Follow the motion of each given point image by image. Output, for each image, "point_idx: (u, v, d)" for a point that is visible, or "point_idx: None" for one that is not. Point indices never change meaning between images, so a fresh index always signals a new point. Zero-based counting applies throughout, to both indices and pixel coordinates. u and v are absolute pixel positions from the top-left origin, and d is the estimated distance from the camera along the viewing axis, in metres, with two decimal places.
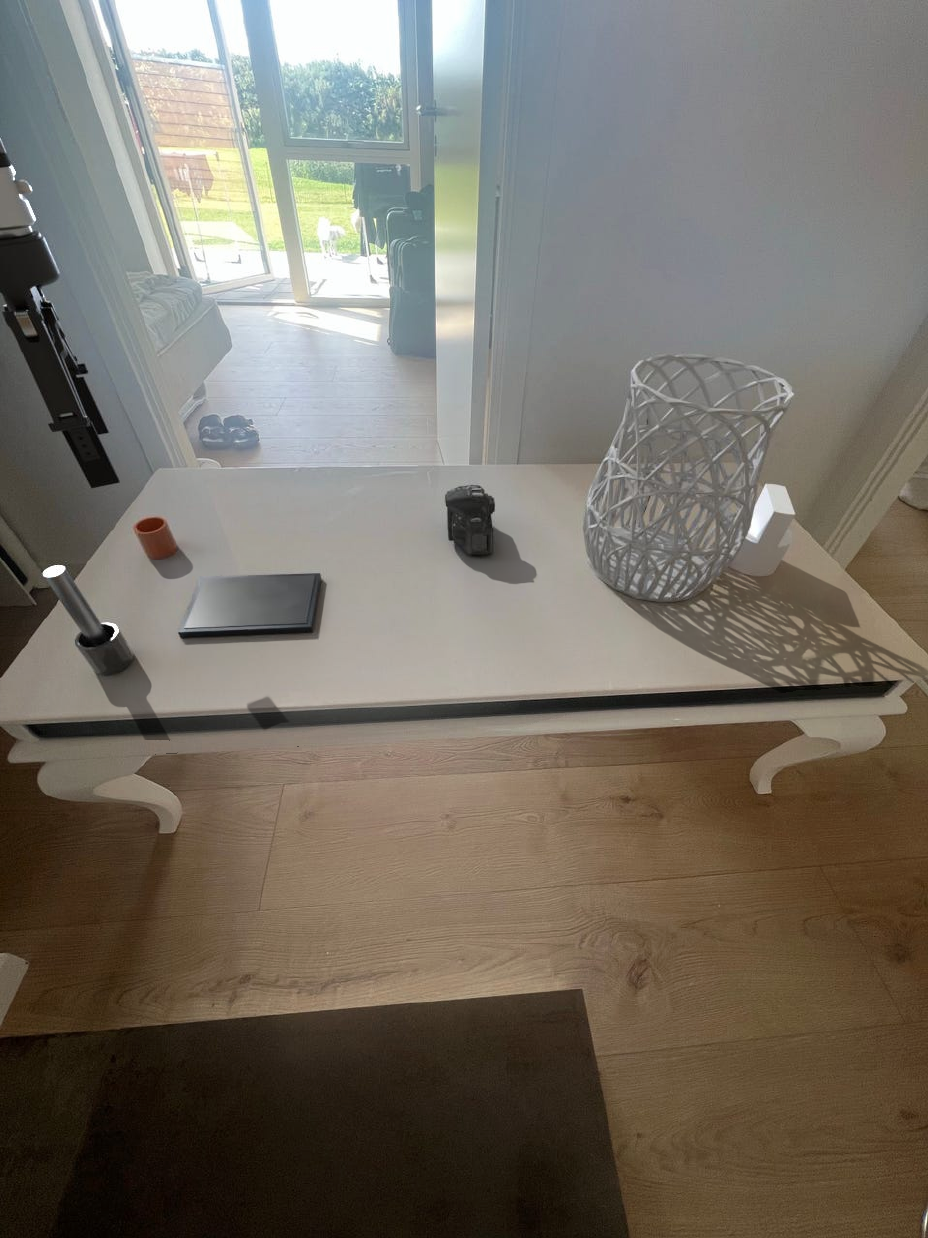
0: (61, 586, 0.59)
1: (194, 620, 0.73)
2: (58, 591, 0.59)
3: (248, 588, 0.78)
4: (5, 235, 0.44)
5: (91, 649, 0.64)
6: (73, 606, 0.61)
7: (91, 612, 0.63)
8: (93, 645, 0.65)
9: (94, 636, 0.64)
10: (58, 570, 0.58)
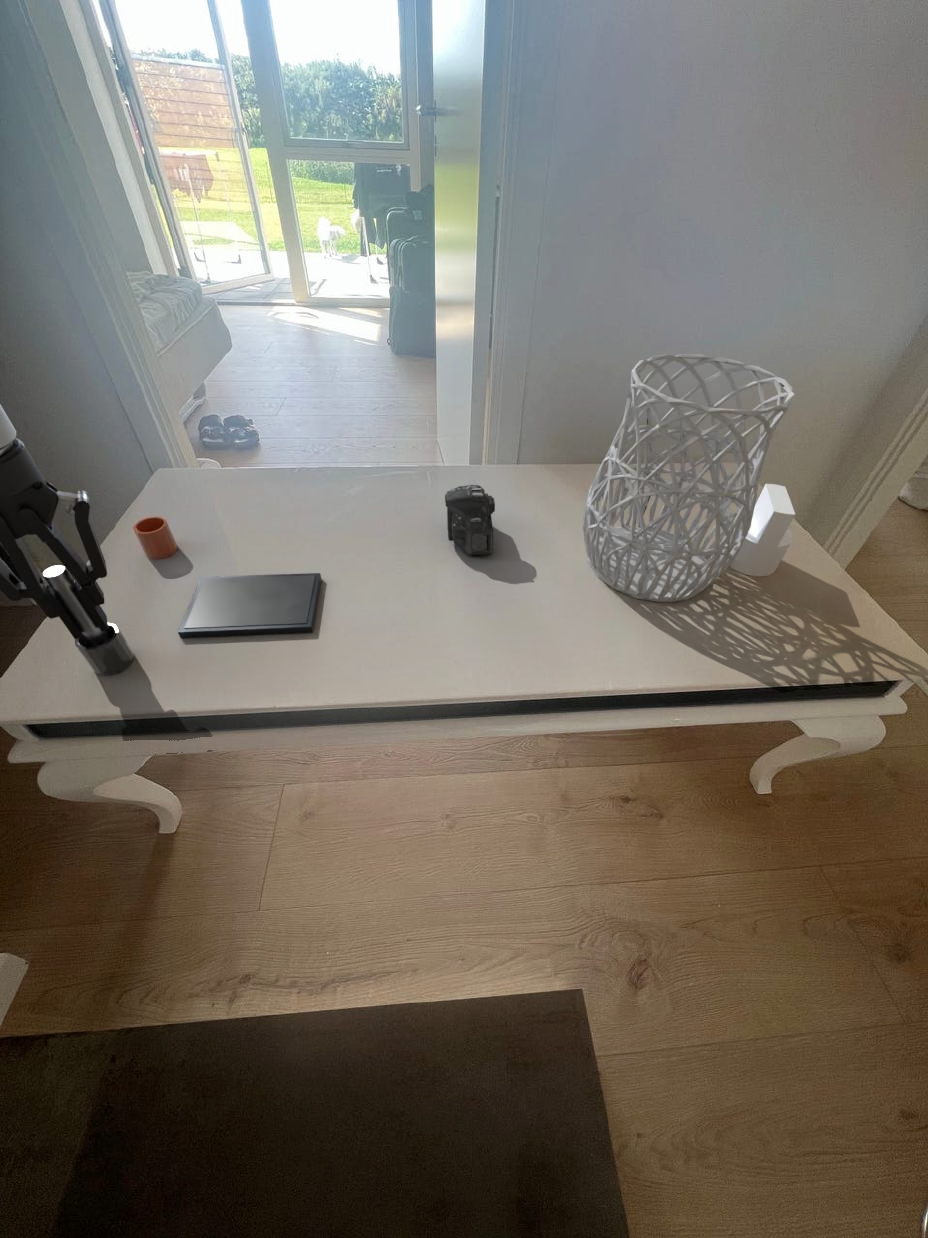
0: (61, 586, 0.59)
1: (194, 620, 0.73)
2: (58, 591, 0.59)
3: (248, 588, 0.78)
4: None
5: (91, 649, 0.64)
6: (73, 606, 0.61)
7: None
8: (93, 645, 0.65)
9: (94, 636, 0.64)
10: (58, 570, 0.58)
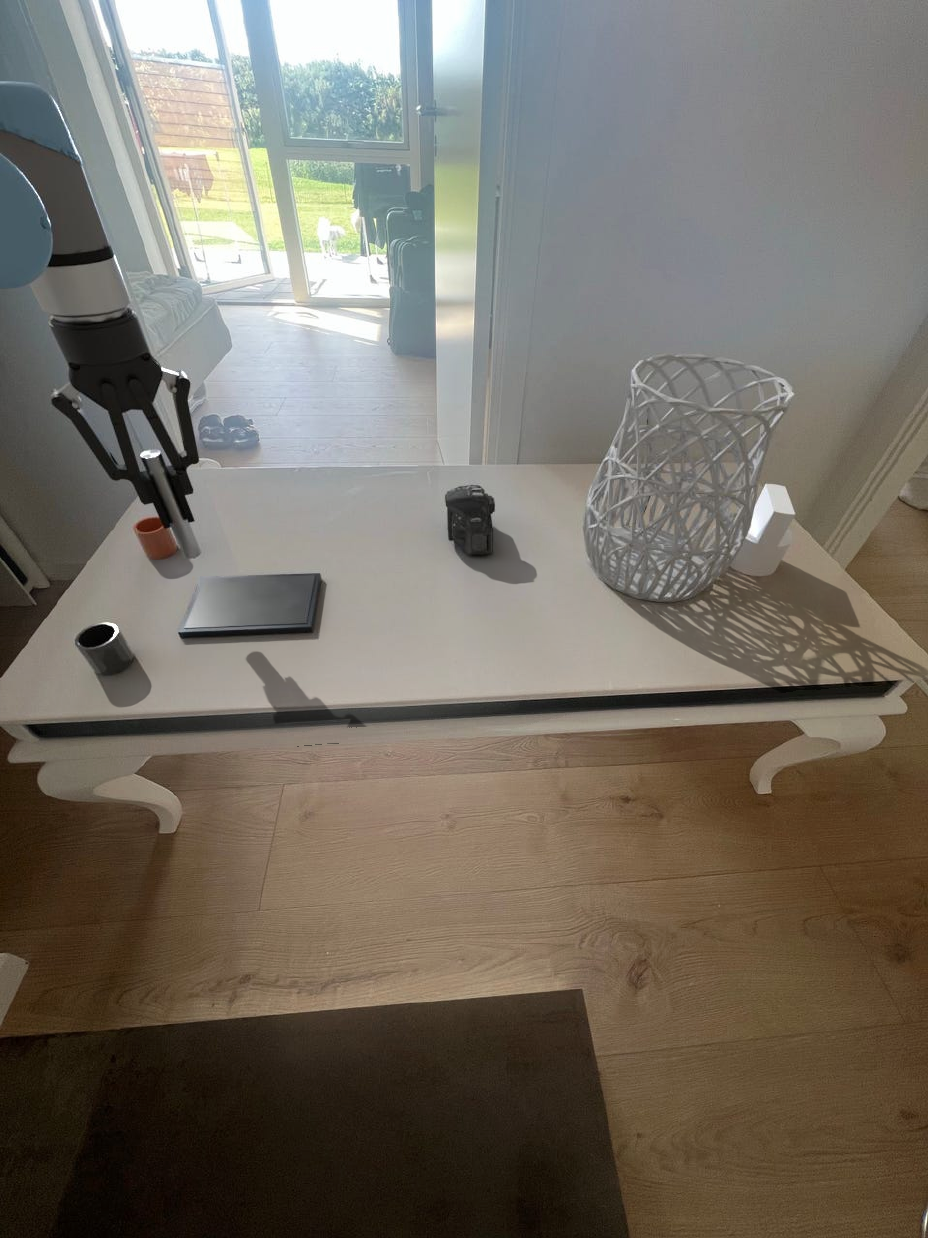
0: (157, 469, 0.60)
1: (194, 620, 0.73)
2: (153, 474, 0.61)
3: (248, 588, 0.78)
4: None
5: (91, 649, 0.64)
6: (165, 492, 0.63)
7: None
8: (179, 538, 0.67)
9: (181, 528, 0.66)
10: (155, 453, 0.60)
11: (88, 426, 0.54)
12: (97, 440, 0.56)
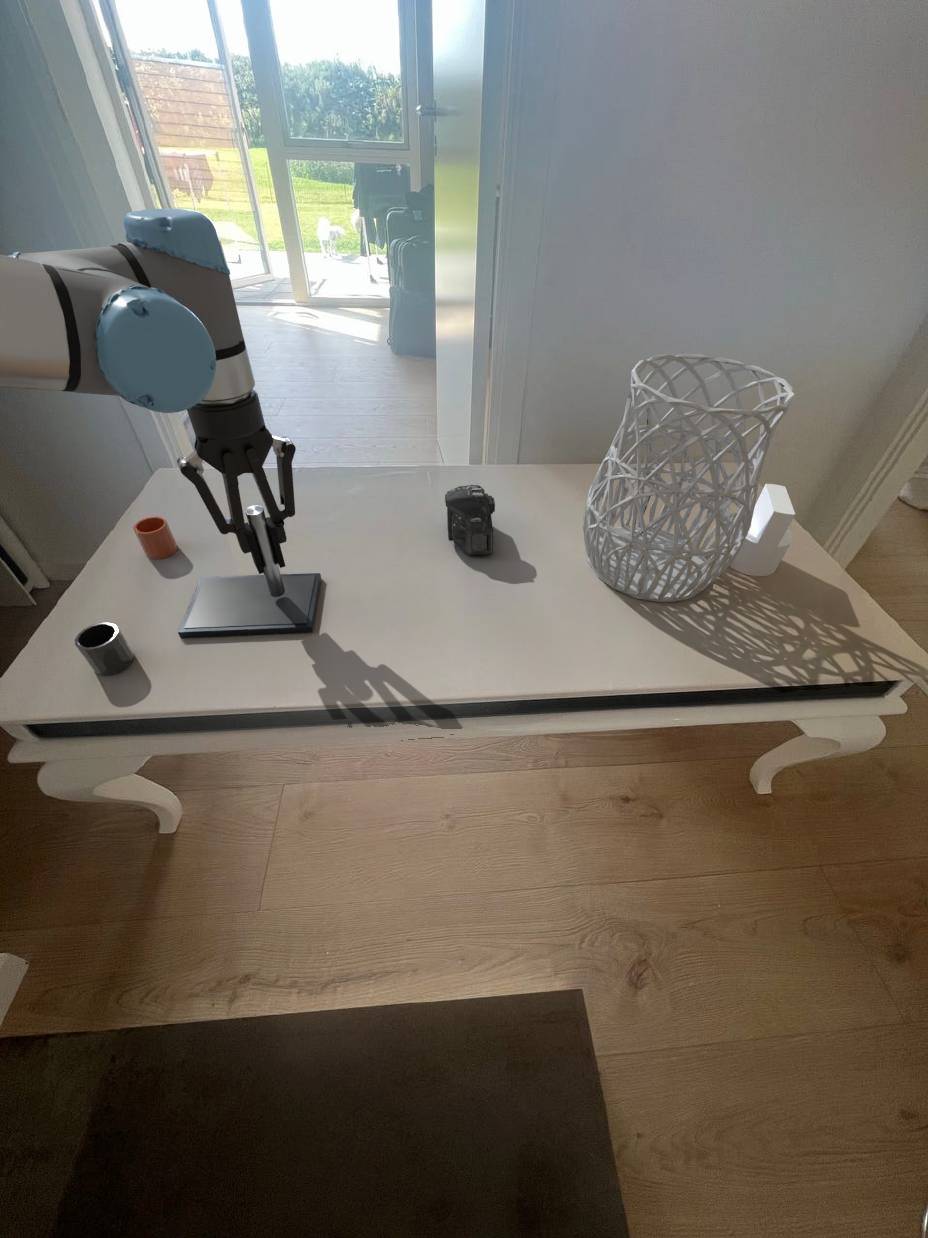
0: (262, 522, 0.67)
1: (194, 620, 0.73)
2: (259, 528, 0.67)
3: (248, 588, 0.78)
4: None
5: (91, 649, 0.64)
6: (266, 542, 0.69)
7: None
8: (272, 580, 0.73)
9: (275, 570, 0.73)
10: (258, 509, 0.66)
11: (207, 489, 0.61)
12: (213, 500, 0.62)
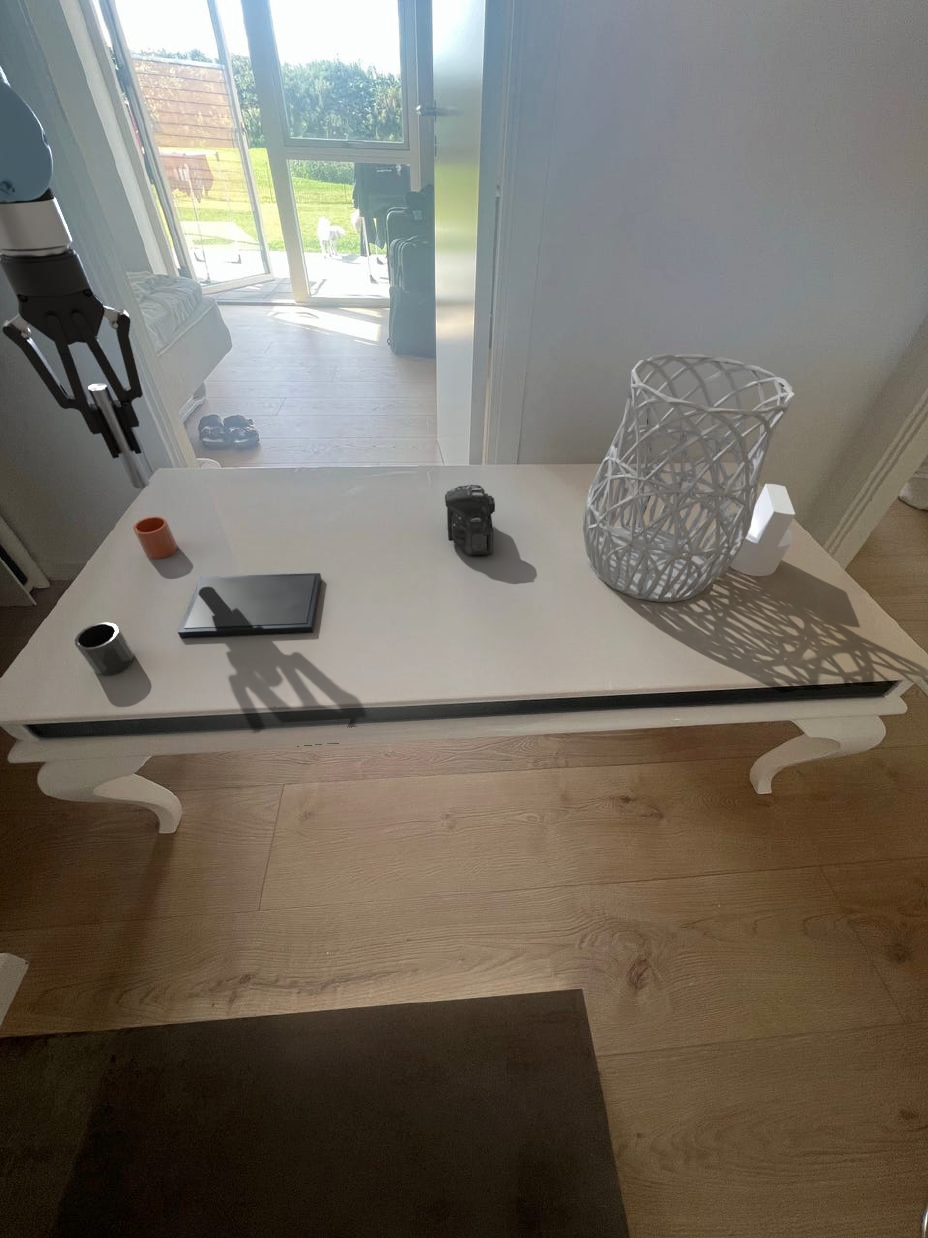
0: (107, 400, 0.68)
1: (194, 620, 0.73)
2: (104, 406, 0.68)
3: (248, 588, 0.78)
4: None
5: (91, 649, 0.64)
6: (116, 423, 0.70)
7: None
8: (131, 468, 0.74)
9: (132, 457, 0.73)
10: (101, 386, 0.67)
11: (37, 355, 0.61)
12: (46, 369, 0.63)
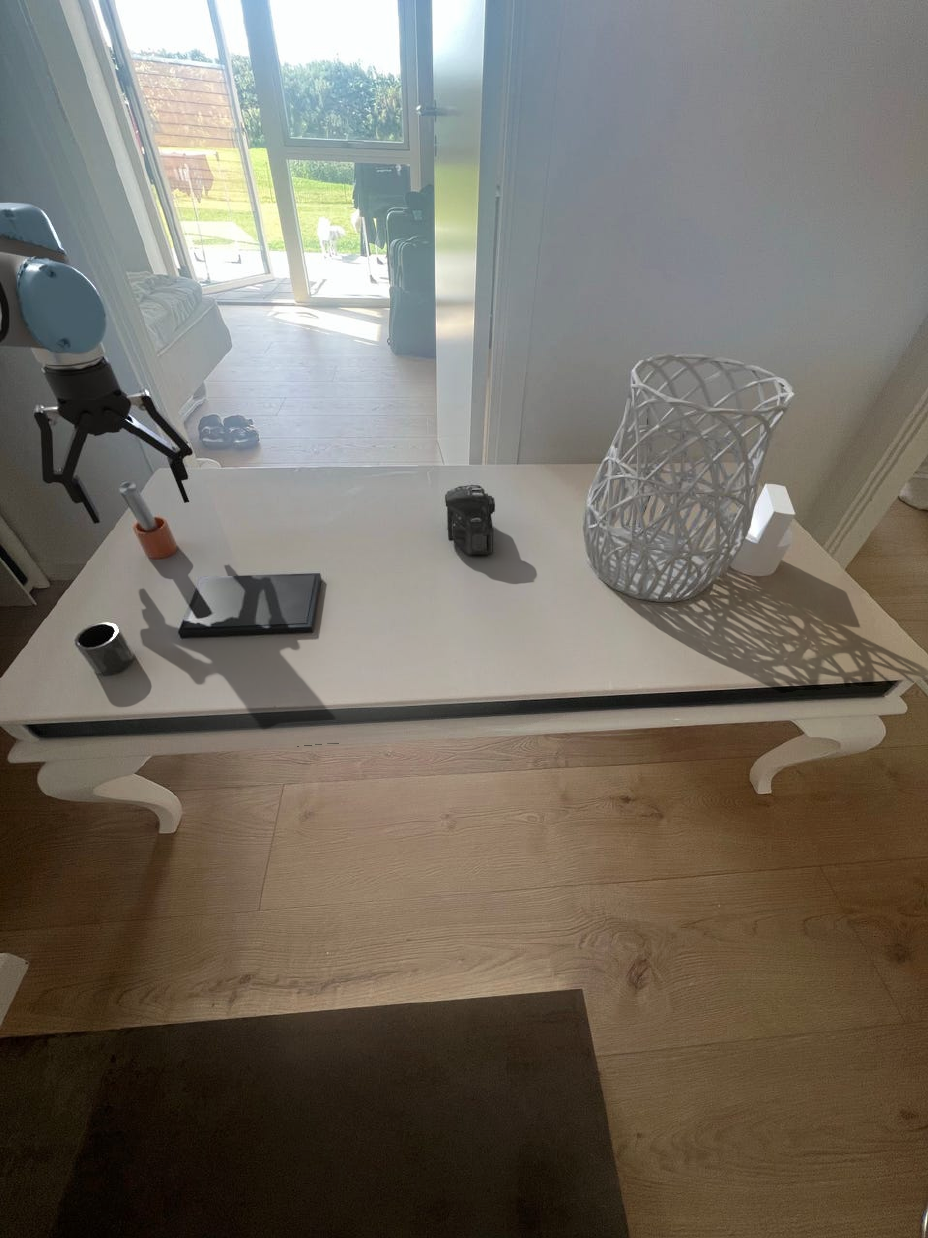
0: (137, 499, 0.75)
1: (194, 620, 0.73)
2: (134, 503, 0.75)
3: (248, 588, 0.78)
4: None
5: (91, 649, 0.64)
6: (143, 511, 0.77)
7: (150, 512, 0.80)
8: None
9: (154, 530, 0.82)
10: (131, 487, 0.74)
11: (51, 439, 0.69)
12: (51, 451, 0.69)
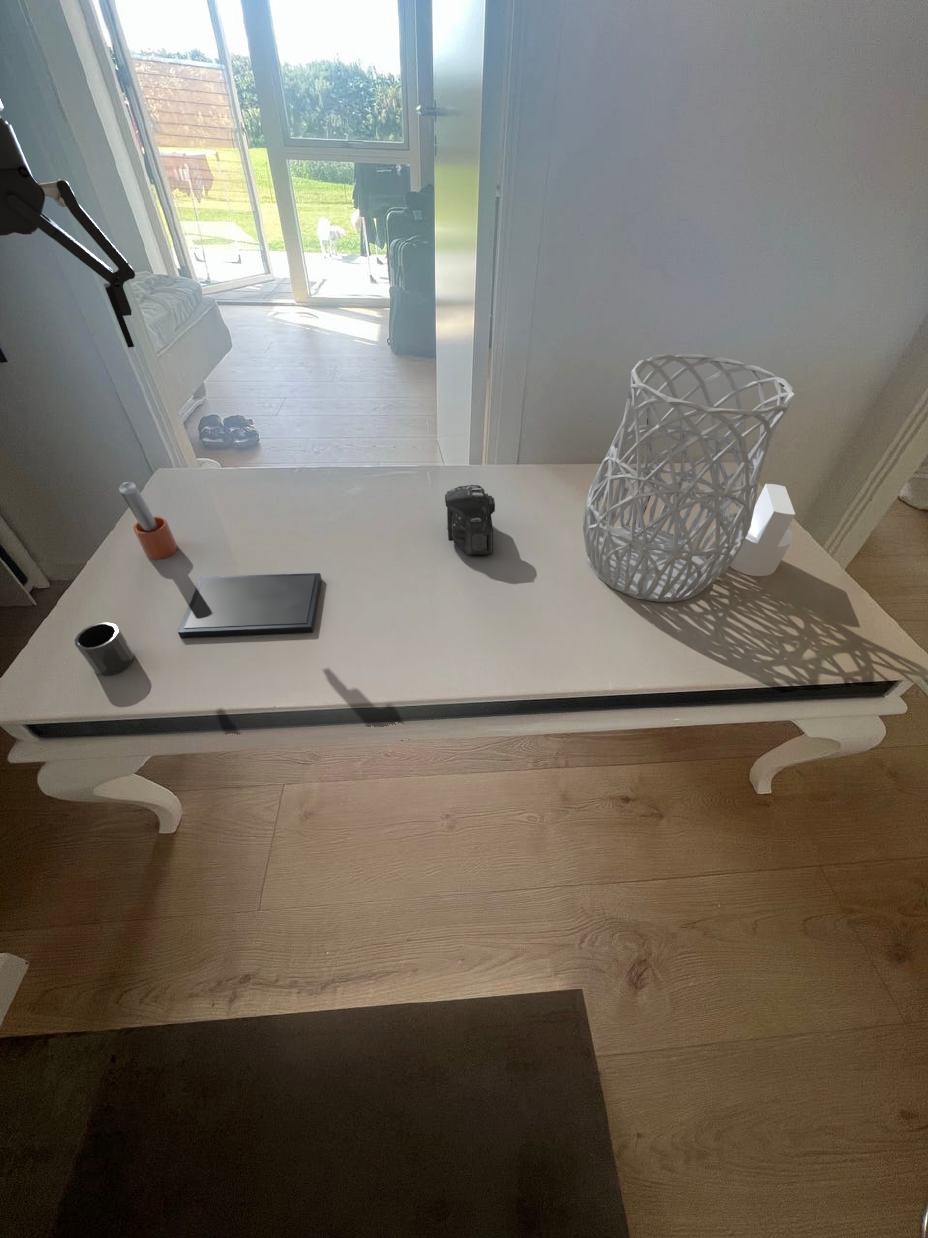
0: (137, 499, 0.75)
1: (194, 620, 0.73)
2: (134, 503, 0.75)
3: (248, 588, 0.78)
4: None
5: (91, 649, 0.64)
6: (143, 511, 0.77)
7: (150, 512, 0.80)
8: None
9: (154, 530, 0.82)
10: (131, 487, 0.74)
11: None
12: None
